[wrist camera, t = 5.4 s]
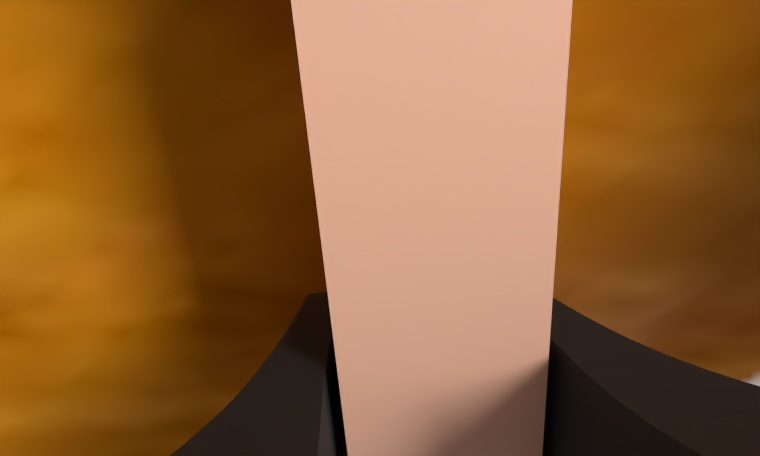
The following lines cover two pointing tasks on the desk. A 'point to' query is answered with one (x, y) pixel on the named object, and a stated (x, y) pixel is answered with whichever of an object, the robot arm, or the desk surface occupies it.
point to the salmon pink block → (437, 214)
